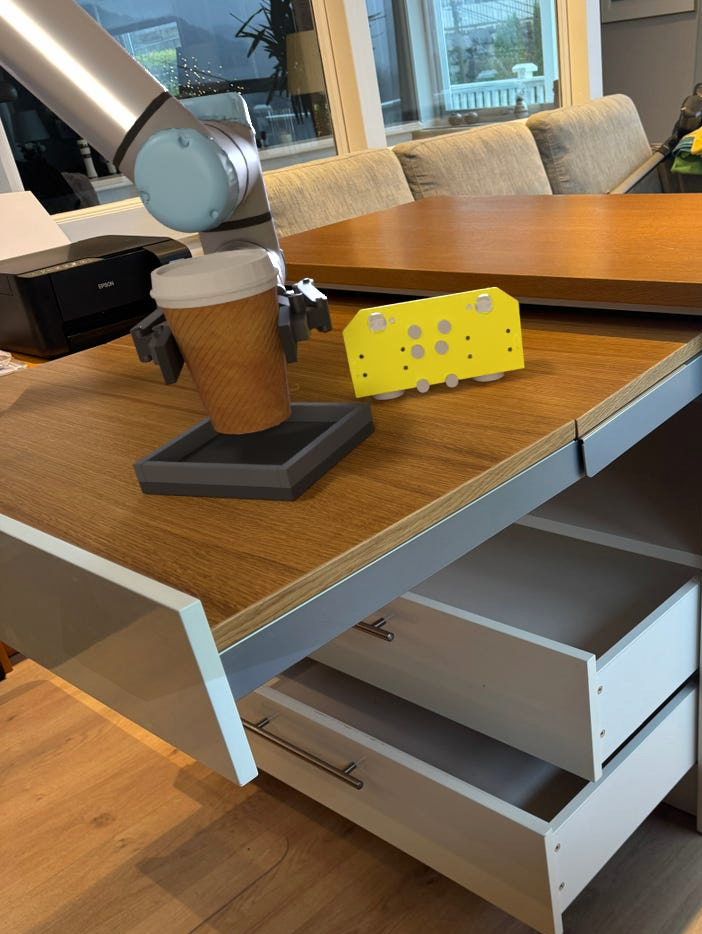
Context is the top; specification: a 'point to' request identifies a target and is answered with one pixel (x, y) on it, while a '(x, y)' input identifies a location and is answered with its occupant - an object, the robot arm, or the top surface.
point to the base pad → (257, 455)
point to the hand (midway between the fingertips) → (226, 354)
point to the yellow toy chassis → (433, 342)
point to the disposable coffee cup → (229, 335)
